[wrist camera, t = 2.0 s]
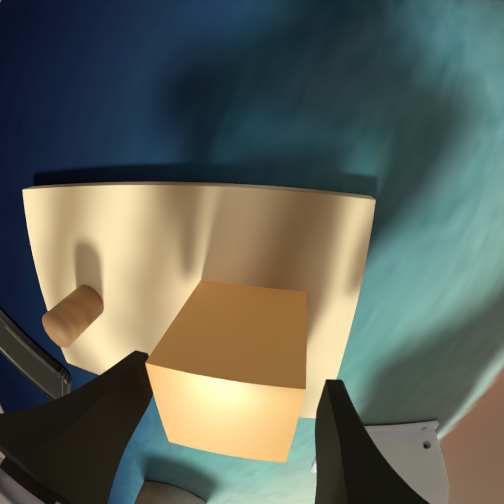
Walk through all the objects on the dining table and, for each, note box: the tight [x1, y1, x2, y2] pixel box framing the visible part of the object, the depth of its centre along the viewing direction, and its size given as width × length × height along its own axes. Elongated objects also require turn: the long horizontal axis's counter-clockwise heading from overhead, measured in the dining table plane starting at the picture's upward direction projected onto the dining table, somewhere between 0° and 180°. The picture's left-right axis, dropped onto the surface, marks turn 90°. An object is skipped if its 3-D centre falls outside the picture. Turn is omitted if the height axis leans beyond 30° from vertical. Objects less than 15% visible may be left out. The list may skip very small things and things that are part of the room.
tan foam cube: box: [145, 280, 307, 463], centre depth 12 cm, size 5×5×6 cm
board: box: [23, 182, 376, 418], centre depth 14 cm, size 20×14×4 cm
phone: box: [0, 310, 72, 400], centre depth 22 cm, size 8×1×15 cm
